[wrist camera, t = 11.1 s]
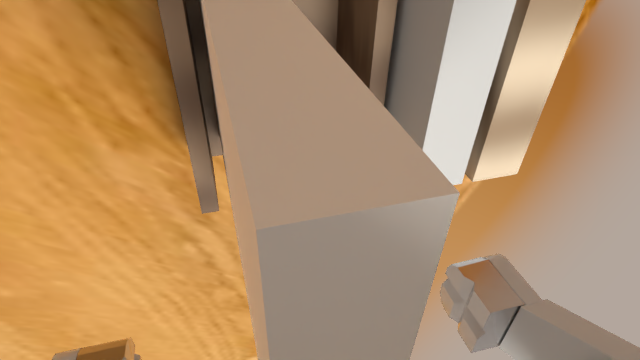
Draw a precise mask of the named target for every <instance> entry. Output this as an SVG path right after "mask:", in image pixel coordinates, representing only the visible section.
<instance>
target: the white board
mask: <svg viewBox="0 0 640 360" xmlns="http://www.w3.org/2000/svg"><path fill="white" fill-rule="evenodd" d="M199 2H200V9H201V15H202V22H203V28H204V35H205V42H206V48H207V55H208V61H209V68H210V75H211V81H212V88H213V95H214V101H215V108H216V114H217V121H218V128H219V134H220V140H221V146H222V152H223V158H224V164H225V169H226V175H227V181H228V187H229V193H230V199H231V204H232V210H233V216H234V222H235V228H236V234H237V239H238V245H239V251H240V257H241V263H242V268H243V274H244V280H245V286H246V292H247V298H248V303H249V309H250V315H251V321H252V327H253V333H254V338H255V344H256V350H257V356H258V360H409V359H410V356H411V353H412V349H413V346H414V343H415V339H416V336H417V333H418V329H419V326H420V322H421V319H422V316H423V313H424V309H425V306H426V303H427V299H428V296H429V293H430V290H431V286H432V283H433V280H434V276H435V273H436V270H437V266H438V263H439V260H440V256H441V253H442V250H443V246H444V243H445V240H446V236H447V233H448V229H449V226H450V223H451V220H452V216H453V213H454V210H455V206H456V203H457V200H458V196H459V192H458V191H457V189H456V188H455V187H454V186H453V185H452V184H451V182H450V181H449V180H448V179H447V178H446V177H445V176H444V174H443V173H442V172H441V171H440V170H439V169H438V168H437V166H436V165H435V164H434V163H433V162H432V161H431V160H430V158H429V157H428V156H427V155H426V154H425V153H424V152H423V150H422V149H421V148H420V147H419V146H418V145H417V144H416V142H415V141H414V140H413V139H412V138H411V137H410V135H409V134H408V133H407V132H406V131H405V130H404V129H403V127H402V126H401V125H400V124H399V123H398V122H397V121H396V119H395V118H394V117H393V116H392V115H391V114H390V113H389V111H388V110H387V109H386V108H385V107H384V106H383V105H382V103H381V102H380V101H379V100H378V99H377V98H376V97H375V95H374V94H373V93H372V92H371V91H370V90H369V88H368V87H367V86H366V85H365V84H364V83H363V82H362V80H361V79H360V78H359V77H358V76H357V75H356V74H355V72H354V71H353V70H352V69H351V68H350V67H349V66H348V64H347V63H346V62H345V61H344V60H343V59H342V58H341V56H340V55H339V54H338V53H337V52H336V51H335V50H334V48H333V47H332V46H331V45H330V44H329V43H328V41H327V40H326V39H325V38H324V37H323V36H322V35H321V33H320V32H319V31H318V30H317V29H316V28H315V27H314V25H313V24H312V23H311V22H310V21H309V20H308V19H307V17H306V16H305V15H304V14H303V13H302V12H301V11H300V9H299V8H298V7H297V6H296V5H295V4H294V2H293V1H292V0H199Z"/></svg>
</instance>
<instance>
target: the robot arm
mask: <svg viewBox="0 0 640 360" xmlns="http://www.w3.org/2000/svg"><path fill="white" fill-rule="evenodd" d="M446 275H447V276H448V279H447V280H446V281H445V282H444V283H443V284H442V286H441V290H440V296H441V302H442V304H443V307H444V309H445V311H446V313H447V314H448V316H449V317H450V318H451V319H453V320H455V321H456V322H458V333H459V334H460V336H461V337H462V339H463V341H464V342H465V344H466V345H467V347H468V349H469V350H470V352H471V353H473V352H477V351H481V350H485V349H489V348H493V347H497V346H499V348H500V349H501V350H503V351H504V352H505V353H507V354H508V355H509V356H510V357H512V358H513V359H514V360H640V348H639V347H637V346H635V345H633V344H631V343H629V342H627V341H625V340H624V339H622V338H620V337H618V336H616V335H614V334H612V333H610V332H608V331H607V330H605V329H603V328H601V327H599V326H597V325H595V324H593V323H591V322H589V321H587V320H585V319H584V318H582V317H580V316H578V315H576V314H574V313H572V312H570V311H568V310H566V309H564V308H563V307H560V306H559V305H556V304H555V303H553V302H551V301H549V300H542V299H541V298H540V297H539V296H538V295H537V293H536V292H535V291H534V290H533V289H532V288H531V286H530V285H529V284H528V283H527V282H526V281H525V279H524V278H523V277H522V276H521V275H520V274H519V272H518V271H517V270H516V269H515V268H514V266H513V265H512V264H511V263H510V262H509V261H508V259H507V258H506V257H505V256H503V255H501V254H495V255H490V256H486V257H482V258H481V257H480V258H476V259H472V260H468V261H464V262H460V263H456V264H452V265H450V266H449V267H448V268H447V271H446ZM134 352H135V344H134V342H133V341H132V339H131V338H126V339H121V340H117V341H112V342H108V343H103V344H98V345H94V346H89V347H85V348H79V349H74V350H70V351H65V352H61V353H57V354H55V355H54V357H53V358H52V360H142V359H141V357H140V355H137V354H134Z"/></svg>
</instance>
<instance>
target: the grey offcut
mask: <svg viewBox="0 0 640 360" xmlns="http://www.w3.org/2000/svg"><path fill="white" fill-rule="evenodd" d="M516 1H517V0H398V1H397V8H396V16H395V24H394V31H393V39H392V47H391V54H390V62H389V70H388V77H387V85H386V93H385V100H384V107H385V108H386V109H387V110H388V111H389V113H390V114H391V115H392V116H393V117H394V118H395V119H396V121H397V122H398V123H399V124H400V125H401V126H402V127H403V129H404V130H405V131H406V132H407V133H408V134H409V135H410V137H411V138H412V139H413V140H414V141H415V142H416V144H417V145H418V146H419V147H420V148H421V149H422V150H423V152H424V153H425V154H426V155H427V156H428V157H429V158H430V160H431V161H432V162H433V163H434V164H435V165H436V166H437V168H438V169H439V170H440V171H441V172H442V173H443V174H444V176H445V177H446V178H447V179H448V180H449V181H450V182H451V184H452V185H456V184H462V181H463V178H464V174H465V171H466V168H467V164H468V161H469V158H470V154H471V151H472V148H473V144H474V141H475V138H476V134H477V131H478V128H479V124H480V121H481V117H482V114H483V111H484V107H485V104H486V101H487V97H488V94H489V91H490V87H491V84H492V81H493V77H494V74H495V71H496V67H497V64H498V61H499V57H500V54H501V51H502V47H503V44H504V41H505V37H506V34H507V31H508V27H509V24H510V21H511V17H512V14H513V11H514V7H515V4H516Z"/></svg>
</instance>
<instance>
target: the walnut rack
mask: <svg viewBox="0 0 640 360" xmlns="http://www.w3.org/2000/svg"><path fill="white" fill-rule="evenodd" d="M292 1H293V2H294V4H295V5H296V6H297V7H298V8H299V9H300V11H301V12H302V13H303V14H304V15H305V16H306V17H307V19H308V20H309V21H310V22H311V23H312V24H313V25H314V27H315V28H316V29H317V30H318V31H319V32H320V33H321V35H322V36H323V37H324V38H325V39H326V40H327V41H328V43H329V44H330V45H331V46H332V47H333V48H334V50H335V51H336V52H337V53H338V54H339V55H340V56H341V58H342V59H343V60H344V61H345V62H346V63H347V64H348V66H349V67H350V68H351V69H352V70H353V71H354V72H355V74H356V75H357V76H358V77H359V78H360V79H361V80H362V82H363V83H364V84H365V85H366V86H367V87H368V88H369V90H370V91H371V92H372V93H373V94H374V95H375V97H376V98H377V99H378V100H379V101H380V102H381V103H382V105H383V106H384V100H385V93H386V85H387V77H388V70H389V62H390V54H391V47H392V39H393V31H394V24H395V16H396V8H397V1H398V0H292ZM157 2H158V6H159V11H160V16H161V21H162V25H163V30H164V35H165V40H166V44H167V49H168V54H169V59H170V63H171V68H172V73H173V78H174V82H175V87H176V92H177V97H178V101H179V106H180V111H181V116H182V120H183V125H184V130H185V135H186V139H187V144H188V149H189V154H190V158H191V163H192V168H193V173H194V177H195V182H196V187H197V192H198V196H199V201H200V206H201V211H202V214H203V213H209V212H215V211H219V206H218V198H217V191H216V183H215V176H214V168H213V161H212V156H218V155H223V152H222V146H221V140H220V134H219V128H218V121H217V114H216V108H215V101H214V95H213V88H212V81H211V75H210V68H209V61H208V55H207V48H206V42H205V35H204V28H203V22H202V15H201V9H200V2H199V0H157Z"/></svg>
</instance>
